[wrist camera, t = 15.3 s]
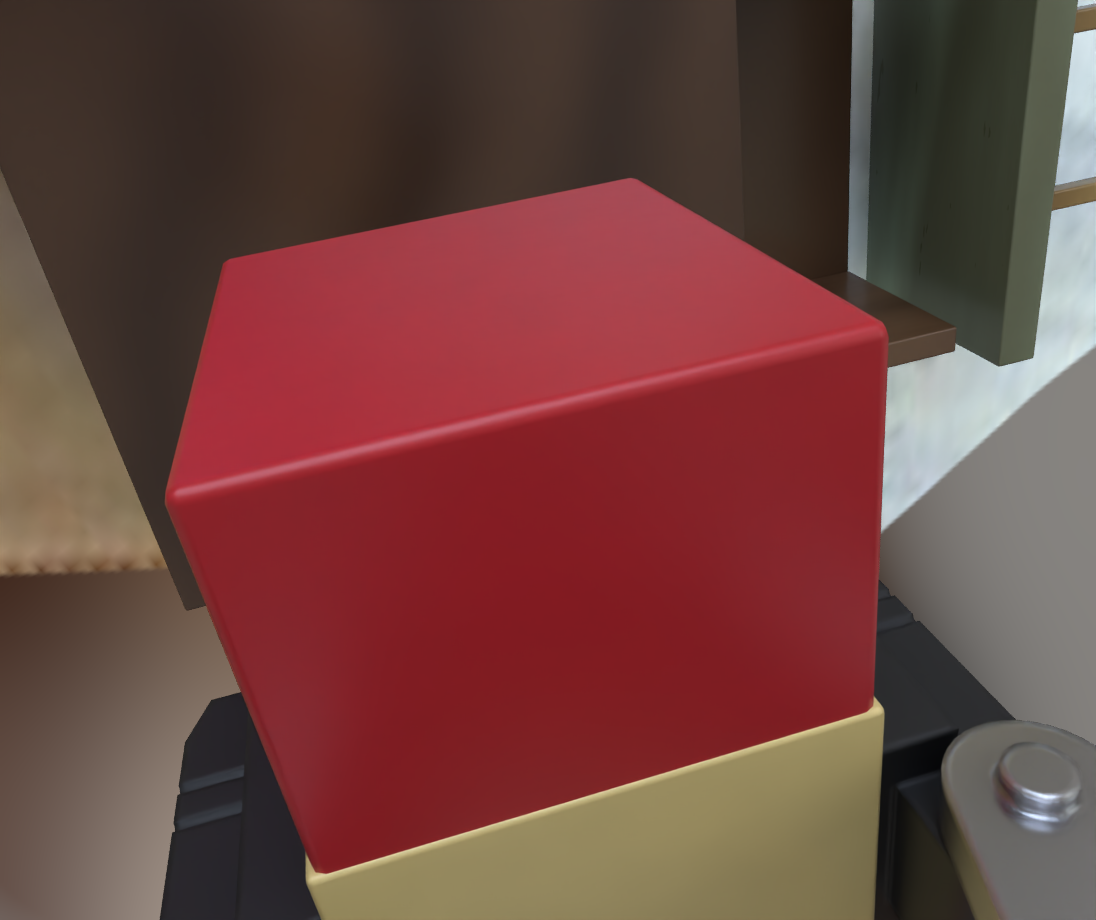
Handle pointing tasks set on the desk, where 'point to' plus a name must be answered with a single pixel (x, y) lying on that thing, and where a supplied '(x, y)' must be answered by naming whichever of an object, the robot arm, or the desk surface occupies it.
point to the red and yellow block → (549, 562)
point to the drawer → (914, 160)
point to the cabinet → (321, 150)
